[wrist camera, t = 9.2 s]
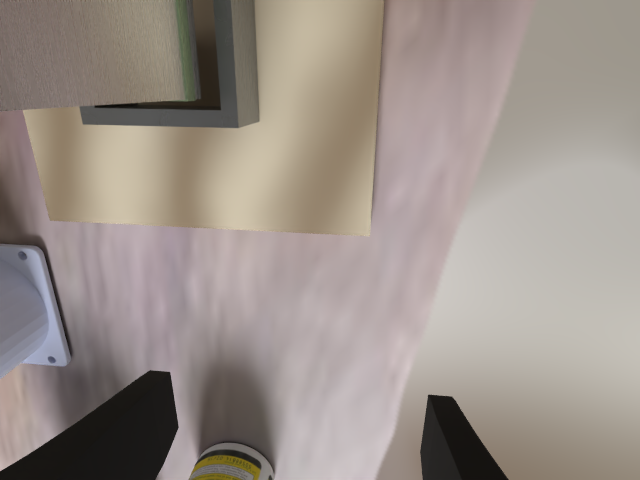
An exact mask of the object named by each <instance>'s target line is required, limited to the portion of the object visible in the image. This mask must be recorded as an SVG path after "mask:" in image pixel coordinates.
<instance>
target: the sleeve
mask: <svg viewBox="0 0 640 480" xmlns="http://www.w3.org/2000/svg"><path fill="white" fill-rule="evenodd" d="M213 7H214V21H215V34H216V48H217V61H218V75H219V88H220V102H221V106H176V105H138V103H125V104H109V105H93V106H79V108H80V113H81V118H82V123H83V125H123V126H166V127H209V128H241V127H244V126H247V125H250V124H254V123H257V122H260V120H259V95H258V71H257V47H256V23H255V0H213Z"/></svg>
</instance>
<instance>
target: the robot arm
mask: <svg viewBox="0 0 640 480" xmlns="http://www.w3.org/2000/svg"><path fill="white" fill-rule="evenodd" d="M24 253H25V254H26V255H27V256H26V255H25V254H24ZM70 361H71V356H70V353H69V349H68V345H67V341H66V337H65V333H64V329H63V326H62V322H61V318H60V314H59V310H58V306H57V303H56V299H55V295H54V291H53V287H52V283H51V280H50V276H49V272H48V268H47V264H46V260H45V257H44V253H43V251H42V250H41V249H40V248H39V247H37V246H32V245H14V244H0V379H1V378H2V377H4V376H5V375H6V374H7V373H9V372H10V371H11V370H13V369H14V368H15V367H16V366H18V365H19V364H20V363H27V364H39V365H50V366H66V365H67V364H68V363H69V362H70ZM177 430H178V420H177V414H176V407H175V401H174V394H173V388H172V381H171V375H170V372H163V371H151V370H150V371H148V372H147V373H145V374H144V375H142V376H141V377H139V378H138V379H137V380H135V381H134V382H132V383H131V384H130V385H128V386H127V387H126V388H124V389H123V390H121V391H120V392H119V393H117V394H116V395H115V396H113V397H112V398H110V399H109V400H108V401H106V402H105V403H104V404H102V405H101V406H99V407H98V408H97V409H95V410H94V411H92V412H91V413H90V414H88V415H87V416H85V417H84V418H83V419H81V420H80V421H78V422H77V423H75V424H74V425H72V426H71V427H69V428H68V429H66V430H65V431H63V432H62V433H60V434H59V435H57V436H56V437H54V438H53V439H51V440H50V441H48V442H47V443H45V444H44V445H42V446H41V447H39V448H38V449H36V450H35V451H33V452H31V453H30V454H28V455H27V456H25V457H23V458H22V459H20V460H19V461H17V462H15V463H14V464H12V465H10V466H9V467H7V468H5V469H3V470H2V471H0V480H155V479H156V477H157V475H158V473H159V472H160V470H161V468H162V466H163V464H164V462H165V459H166V457H167V455H168V452H169V450H170V448H171V445H172V443H173V440H174V438H175V435H176V432H177ZM420 453H421V463H422V475H423V480H508V478H507V477H506V476H505V474H504V473H503V471H502V470H501V469H500V467H499V466H498V464H497V463H496V462H495V460H494V459H493V458H492V456H491V455H490V453H489V452H488V450H487V449H486V448H485V446H484V445H483V443H482V442H481V440H480V439H479V437H478V436H477V434H476V433H475V431H474V430H473V428H472V427H471V425H470V423H469V422H468V420H467V419H466V417H465V416H464V414H463V412H462V411H461V409H460V407H459V406H458V404H457V403H456V401H455V400H454V399H453V398H452V397H449V396H437V395H428V401H427V408H426V415H425V423H424V430H423V437H422V444H421V451H420Z"/></svg>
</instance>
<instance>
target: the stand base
mask: <svg viewBox="0 0 640 480" xmlns="http://www.w3.org/2000/svg"><path fill="white" fill-rule="evenodd" d="M192 1H193V12H194V23H195V34H196V45H197V56H198V67H199V78H200V89H201V99H196V101H157V102H141V103H138V105H176V106H221V102H220V88H219V75H218V61H217V48H216V34H215V21H214V7H213V0H192ZM383 12H384V0H255V23H256V47H257V71H258V95H259V120H260V122H257V123H254V124H250V125H247V126H244V127H241V128H209V127H166V126H123V125H83V123H82V118H81V113H80V108H79V106H77V107H61V108H45V109H29V110H23V113H24V117H25V121H26V125H27V129H28V133H29V137H30V141H31V145H32V150H33V154H34V158H35V162H36V166H37V170H38V174H39V178H40V182H41V186H42V190H43V194H44V198H45V202H46V206H47V210H48V215H49V219H50V220H51V221H71V222H92V223H112V224H132V225H152V226H173V227H193V228H213V229H234V230H254V231H274V232H295V233H315V234H335V235H356V236H370V225H371V209H372V192H373V176H374V160H375V143H376V127H377V111H378V94H379V78H380V61H381V45H382V29H383Z"/></svg>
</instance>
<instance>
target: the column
mask: <svg viewBox="0 0 640 480" xmlns="http://www.w3.org/2000/svg"><path fill="white" fill-rule="evenodd" d="M196 99H201V89H200V78H199V67H198V56H197V45H196V34H195V23H194V12H193V1H192V0H0V111H13V110H29V109H45V108H61V107H77V106H93V105H109V104H125V103H141V102H157V101H196Z"/></svg>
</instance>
